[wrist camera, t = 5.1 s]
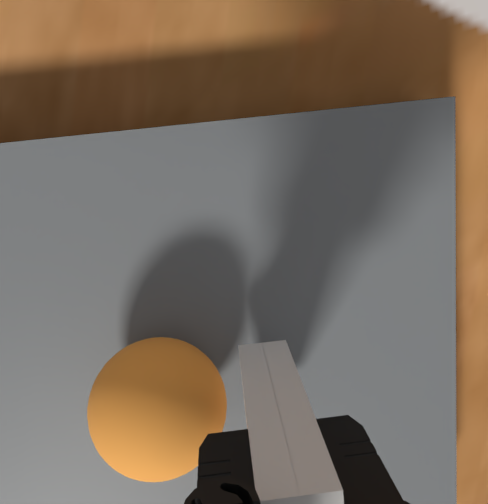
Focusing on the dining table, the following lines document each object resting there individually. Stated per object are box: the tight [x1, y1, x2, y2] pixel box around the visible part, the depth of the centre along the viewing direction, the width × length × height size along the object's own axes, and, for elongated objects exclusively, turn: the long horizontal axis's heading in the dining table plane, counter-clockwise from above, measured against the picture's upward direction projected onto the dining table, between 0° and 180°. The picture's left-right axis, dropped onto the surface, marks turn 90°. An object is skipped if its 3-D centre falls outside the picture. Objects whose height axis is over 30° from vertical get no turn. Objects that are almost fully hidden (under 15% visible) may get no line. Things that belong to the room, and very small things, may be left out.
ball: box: [87, 337, 227, 482], centre depth 13 cm, size 4×4×4 cm
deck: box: [0, 97, 456, 504], centre depth 16 cm, size 28×16×2 cm, turn 96°
